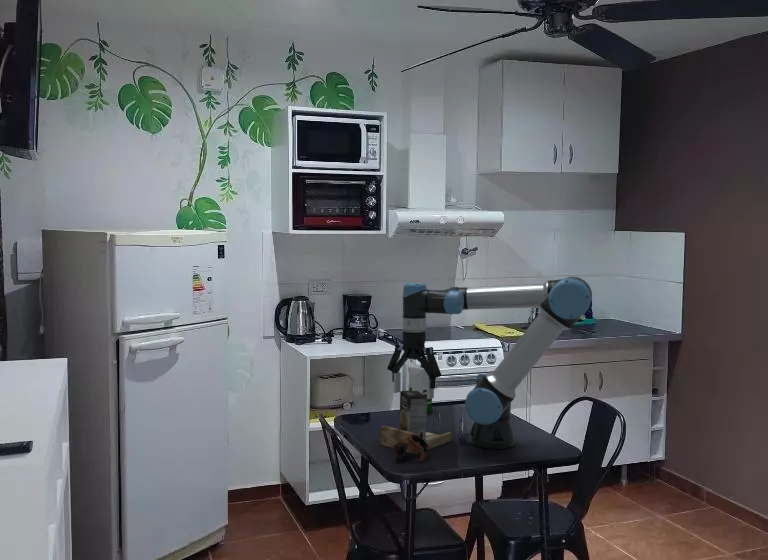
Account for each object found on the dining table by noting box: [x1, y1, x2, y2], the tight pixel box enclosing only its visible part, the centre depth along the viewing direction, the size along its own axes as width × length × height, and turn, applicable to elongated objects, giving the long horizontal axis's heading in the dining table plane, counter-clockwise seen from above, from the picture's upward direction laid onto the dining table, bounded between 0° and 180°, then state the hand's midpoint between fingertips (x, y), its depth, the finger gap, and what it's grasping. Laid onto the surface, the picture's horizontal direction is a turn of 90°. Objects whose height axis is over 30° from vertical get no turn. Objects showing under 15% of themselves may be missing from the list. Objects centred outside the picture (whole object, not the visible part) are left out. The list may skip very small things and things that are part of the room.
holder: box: [379, 425, 453, 455], centre depth 236 cm, size 15×20×6 cm
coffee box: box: [398, 390, 428, 441], centre depth 234 cm, size 9×6×16 cm
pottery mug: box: [392, 434, 430, 463], centre depth 219 cm, size 12×10×8 cm
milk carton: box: [407, 360, 433, 414], centre depth 277 cm, size 9×9×20 cm
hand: (413, 395), depth 233 cm, fingers open, 13 cm apart
